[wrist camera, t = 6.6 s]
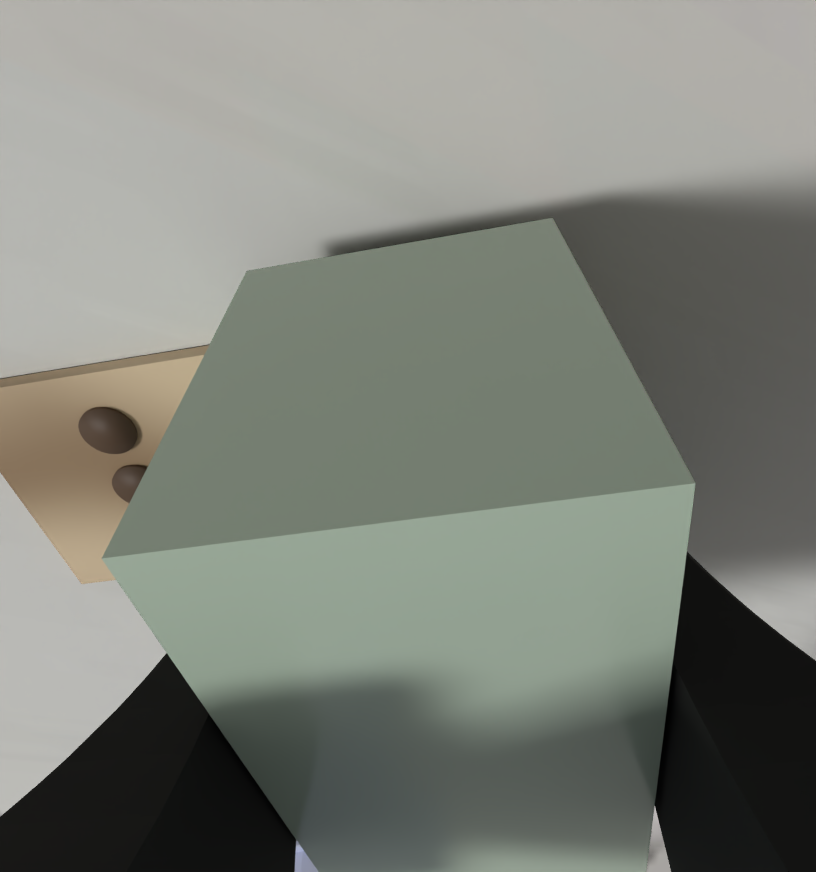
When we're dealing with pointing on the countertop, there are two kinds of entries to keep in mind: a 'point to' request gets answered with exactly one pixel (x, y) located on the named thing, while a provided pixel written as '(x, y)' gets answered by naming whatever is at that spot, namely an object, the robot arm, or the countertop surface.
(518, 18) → the countertop surface
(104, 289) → the countertop surface
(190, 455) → the pale green block
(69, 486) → the pad three
